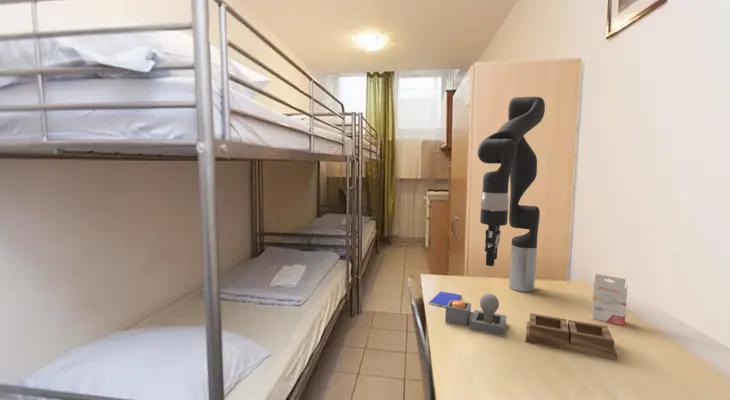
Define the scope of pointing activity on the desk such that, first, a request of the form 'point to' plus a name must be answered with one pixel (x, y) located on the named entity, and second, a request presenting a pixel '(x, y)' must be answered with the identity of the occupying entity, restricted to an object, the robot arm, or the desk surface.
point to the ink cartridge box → (609, 299)
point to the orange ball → (458, 304)
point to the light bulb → (489, 306)
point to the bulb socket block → (475, 319)
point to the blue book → (444, 298)
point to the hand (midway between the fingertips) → (491, 262)
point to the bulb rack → (571, 335)
